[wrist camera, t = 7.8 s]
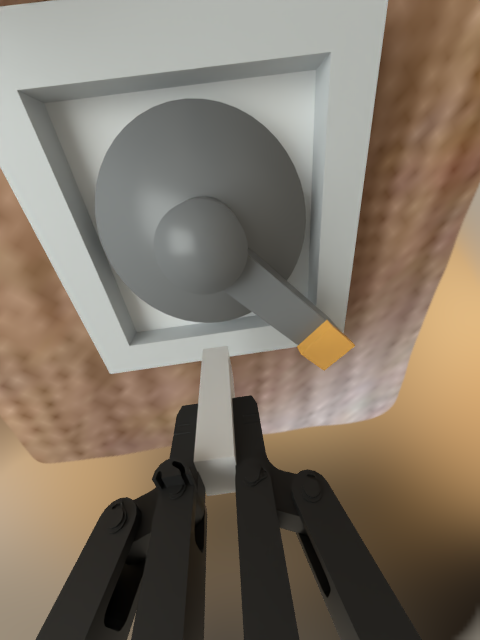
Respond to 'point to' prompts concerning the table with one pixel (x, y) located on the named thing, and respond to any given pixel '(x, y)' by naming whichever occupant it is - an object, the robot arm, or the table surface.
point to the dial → (210, 221)
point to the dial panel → (173, 84)
